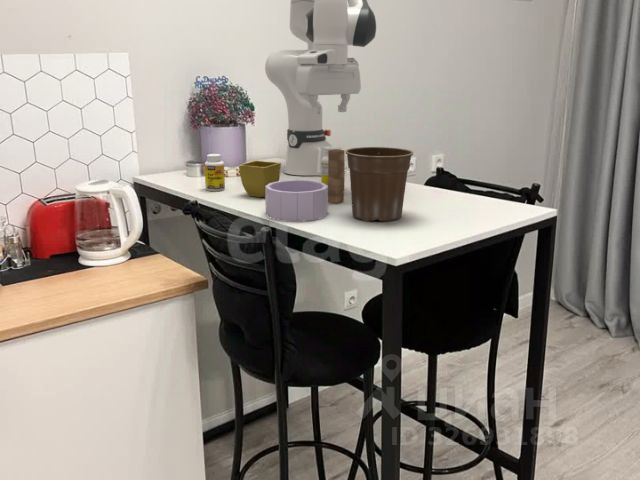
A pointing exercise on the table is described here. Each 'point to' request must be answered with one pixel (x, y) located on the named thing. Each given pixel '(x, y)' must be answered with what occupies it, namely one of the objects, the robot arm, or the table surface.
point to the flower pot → (258, 176)
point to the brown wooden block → (336, 176)
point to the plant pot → (378, 181)
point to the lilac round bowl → (296, 200)
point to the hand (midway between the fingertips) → (329, 112)
